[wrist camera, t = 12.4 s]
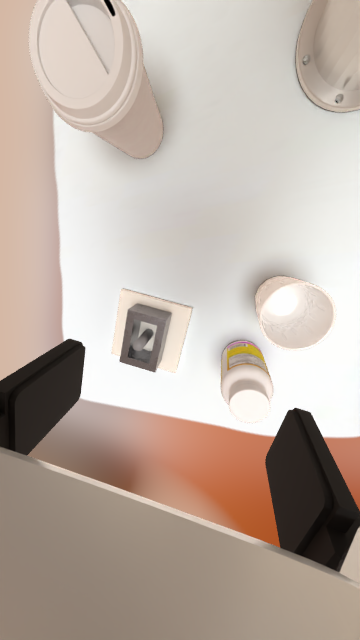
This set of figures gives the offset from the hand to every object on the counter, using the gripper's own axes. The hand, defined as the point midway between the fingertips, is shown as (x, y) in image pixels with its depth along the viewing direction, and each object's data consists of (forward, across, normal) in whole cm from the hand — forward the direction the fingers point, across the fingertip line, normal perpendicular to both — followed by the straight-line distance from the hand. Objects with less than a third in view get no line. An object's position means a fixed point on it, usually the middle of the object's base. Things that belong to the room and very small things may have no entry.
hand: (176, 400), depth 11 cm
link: (+27, +8, +10) cm, 30 cm away
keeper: (+28, +8, +10) cm, 31 cm away
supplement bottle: (+28, -8, +10) cm, 31 cm away
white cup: (+28, -10, -1) cm, 30 cm away
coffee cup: (+28, +15, -18) cm, 37 cm away
